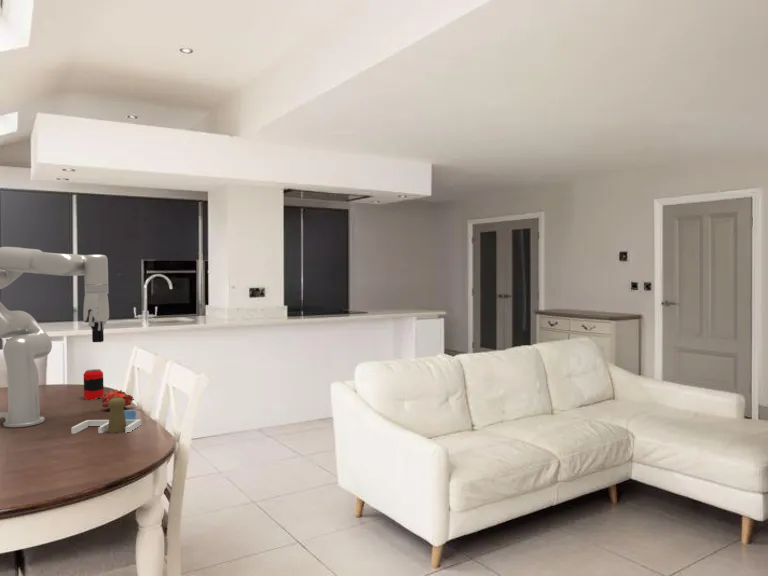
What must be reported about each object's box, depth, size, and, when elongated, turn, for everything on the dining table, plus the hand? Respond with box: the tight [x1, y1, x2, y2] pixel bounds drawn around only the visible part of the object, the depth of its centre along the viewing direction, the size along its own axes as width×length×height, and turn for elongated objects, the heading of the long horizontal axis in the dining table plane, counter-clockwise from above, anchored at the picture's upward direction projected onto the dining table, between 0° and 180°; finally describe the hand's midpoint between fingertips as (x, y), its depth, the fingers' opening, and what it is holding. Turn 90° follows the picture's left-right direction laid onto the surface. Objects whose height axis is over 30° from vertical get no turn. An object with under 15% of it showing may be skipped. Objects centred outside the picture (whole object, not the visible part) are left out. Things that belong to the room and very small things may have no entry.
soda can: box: [83, 368, 105, 399], centre depth 258 cm, size 8×8×12 cm
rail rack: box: [70, 409, 142, 435], centre depth 206 cm, size 19×11×5 cm, turn 90°
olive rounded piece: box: [107, 398, 127, 434], centre depth 204 cm, size 6×6×11 cm
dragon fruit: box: [100, 389, 135, 410], centre depth 236 cm, size 8×8×12 cm
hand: (98, 341), depth 213 cm, fingers closed
